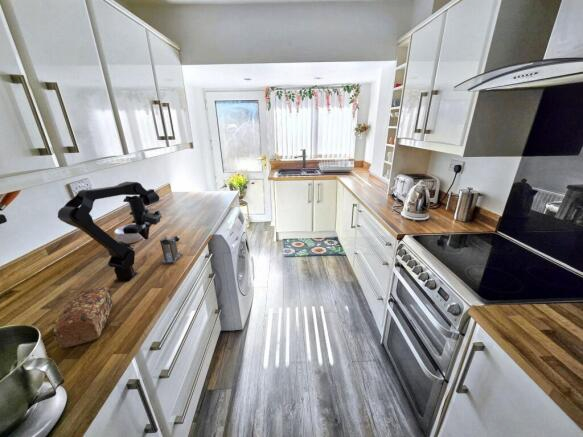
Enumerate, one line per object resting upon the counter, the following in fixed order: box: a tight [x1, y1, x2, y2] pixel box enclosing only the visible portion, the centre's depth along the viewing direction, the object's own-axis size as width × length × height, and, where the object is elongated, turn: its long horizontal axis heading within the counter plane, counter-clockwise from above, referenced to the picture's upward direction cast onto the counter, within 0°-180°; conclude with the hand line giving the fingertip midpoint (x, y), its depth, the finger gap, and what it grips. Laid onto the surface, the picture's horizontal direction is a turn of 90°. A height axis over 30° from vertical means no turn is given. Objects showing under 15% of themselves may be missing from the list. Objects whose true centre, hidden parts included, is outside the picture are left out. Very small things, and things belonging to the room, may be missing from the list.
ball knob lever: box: [164, 235, 180, 245], centre depth 121 cm, size 11×3×3 cm, turn 178°
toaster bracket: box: [159, 236, 183, 265], centre depth 118 cm, size 9×6×12 cm, turn 179°
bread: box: [52, 286, 114, 348], centre depth 80 cm, size 19×11×10 cm, turn 22°
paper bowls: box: [113, 223, 144, 244], centre depth 141 cm, size 15×15×8 cm
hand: (146, 239), depth 115 cm, fingers closed
